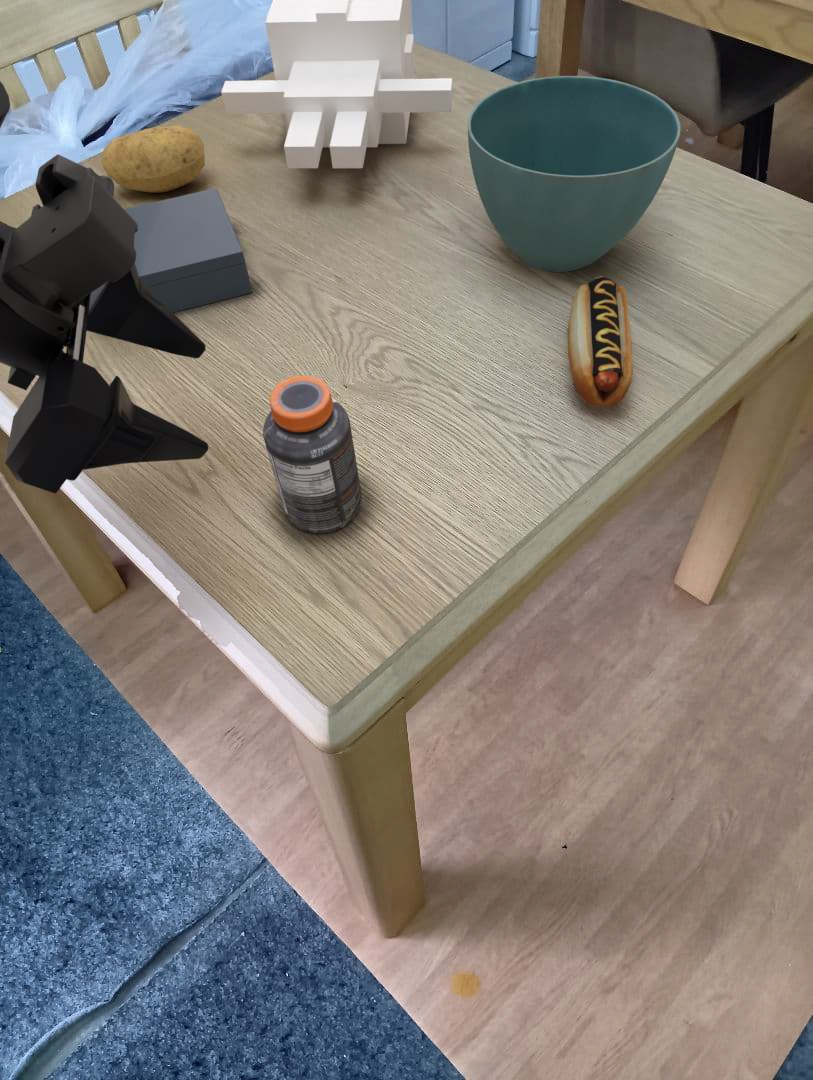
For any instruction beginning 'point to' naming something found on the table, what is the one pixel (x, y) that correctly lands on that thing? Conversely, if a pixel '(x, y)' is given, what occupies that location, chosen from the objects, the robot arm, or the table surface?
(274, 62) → the white voxel figure
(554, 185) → the teal bowl
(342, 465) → the pill bottle
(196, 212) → the blue lidded box
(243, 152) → the table surface
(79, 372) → the robot arm
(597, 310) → the hot dog
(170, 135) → the potato
